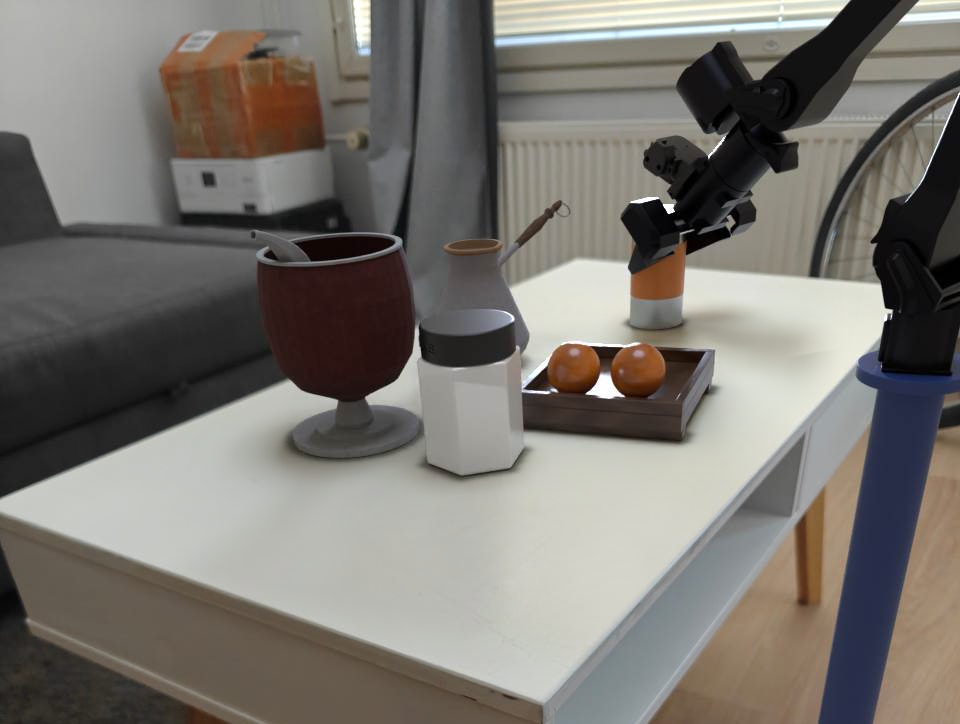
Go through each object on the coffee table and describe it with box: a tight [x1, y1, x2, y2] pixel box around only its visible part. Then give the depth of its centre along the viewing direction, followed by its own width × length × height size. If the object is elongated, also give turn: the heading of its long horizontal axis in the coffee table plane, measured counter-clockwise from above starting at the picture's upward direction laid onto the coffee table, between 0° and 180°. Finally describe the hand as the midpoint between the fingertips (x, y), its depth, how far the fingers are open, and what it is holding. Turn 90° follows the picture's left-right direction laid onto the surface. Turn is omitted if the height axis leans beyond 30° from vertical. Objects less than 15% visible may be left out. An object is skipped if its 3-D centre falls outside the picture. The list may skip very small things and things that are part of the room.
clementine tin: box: [629, 204, 687, 330], centre depth 112 cm, size 6×6×13 cm
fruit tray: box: [521, 340, 716, 441], centre depth 89 cm, size 16×16×8 cm
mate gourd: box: [249, 229, 420, 459], centre depth 84 cm, size 16×14×20 cm
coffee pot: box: [436, 199, 571, 356], centre depth 105 cm, size 21×12×15 cm, turn 137°
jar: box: [416, 309, 525, 477], centre depth 80 cm, size 9×8×12 cm
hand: (649, 265), depth 113 cm, fingers closed on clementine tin, 6 cm apart
